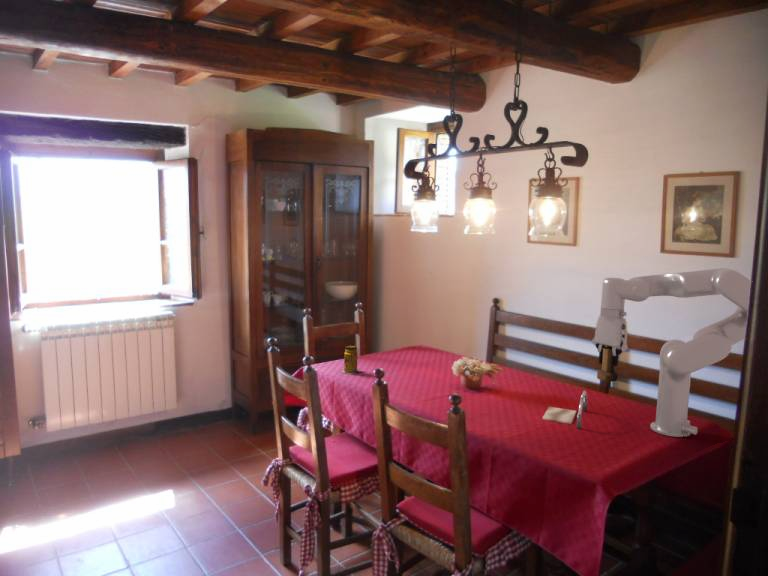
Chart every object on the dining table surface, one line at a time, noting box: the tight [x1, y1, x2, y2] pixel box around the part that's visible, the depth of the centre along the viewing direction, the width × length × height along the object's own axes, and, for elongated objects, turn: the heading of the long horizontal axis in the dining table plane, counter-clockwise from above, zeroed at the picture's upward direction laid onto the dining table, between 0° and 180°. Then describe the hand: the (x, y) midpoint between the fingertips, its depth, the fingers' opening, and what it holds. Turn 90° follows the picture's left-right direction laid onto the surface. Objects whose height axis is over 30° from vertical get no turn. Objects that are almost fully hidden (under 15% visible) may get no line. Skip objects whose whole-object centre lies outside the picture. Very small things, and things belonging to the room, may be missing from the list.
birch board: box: [542, 406, 577, 425], centre depth 212 cm, size 10×14×1 cm
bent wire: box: [576, 390, 588, 430], centre depth 208 cm, size 1×21×10 cm, turn 155°
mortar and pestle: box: [596, 346, 618, 382], centre depth 202 cm, size 7×6×18 cm
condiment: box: [340, 345, 364, 376], centre depth 266 cm, size 7×8×12 cm
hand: (608, 364), depth 203 cm, fingers closed on mortar and pestle, 3 cm apart
